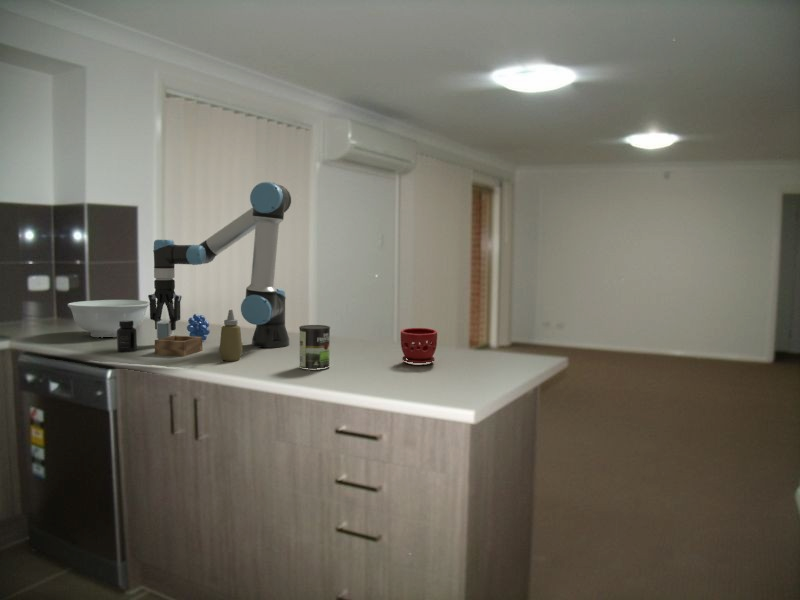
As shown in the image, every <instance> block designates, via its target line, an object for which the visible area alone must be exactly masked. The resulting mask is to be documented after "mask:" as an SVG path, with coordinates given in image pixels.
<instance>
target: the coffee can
mask: <svg viewBox="0 0 800 600" xmlns="http://www.w3.org/2000/svg"><path fill="white" fill-rule="evenodd" d="M298 329H299V367H301V368H308V369H317V368H325V367H328V366H329V367H330V338H331V335H330V331H331V330H330V329H331V326H329V325H324V324H306V325H304V324H303V325H300V326H299V328H298Z"/></svg>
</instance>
